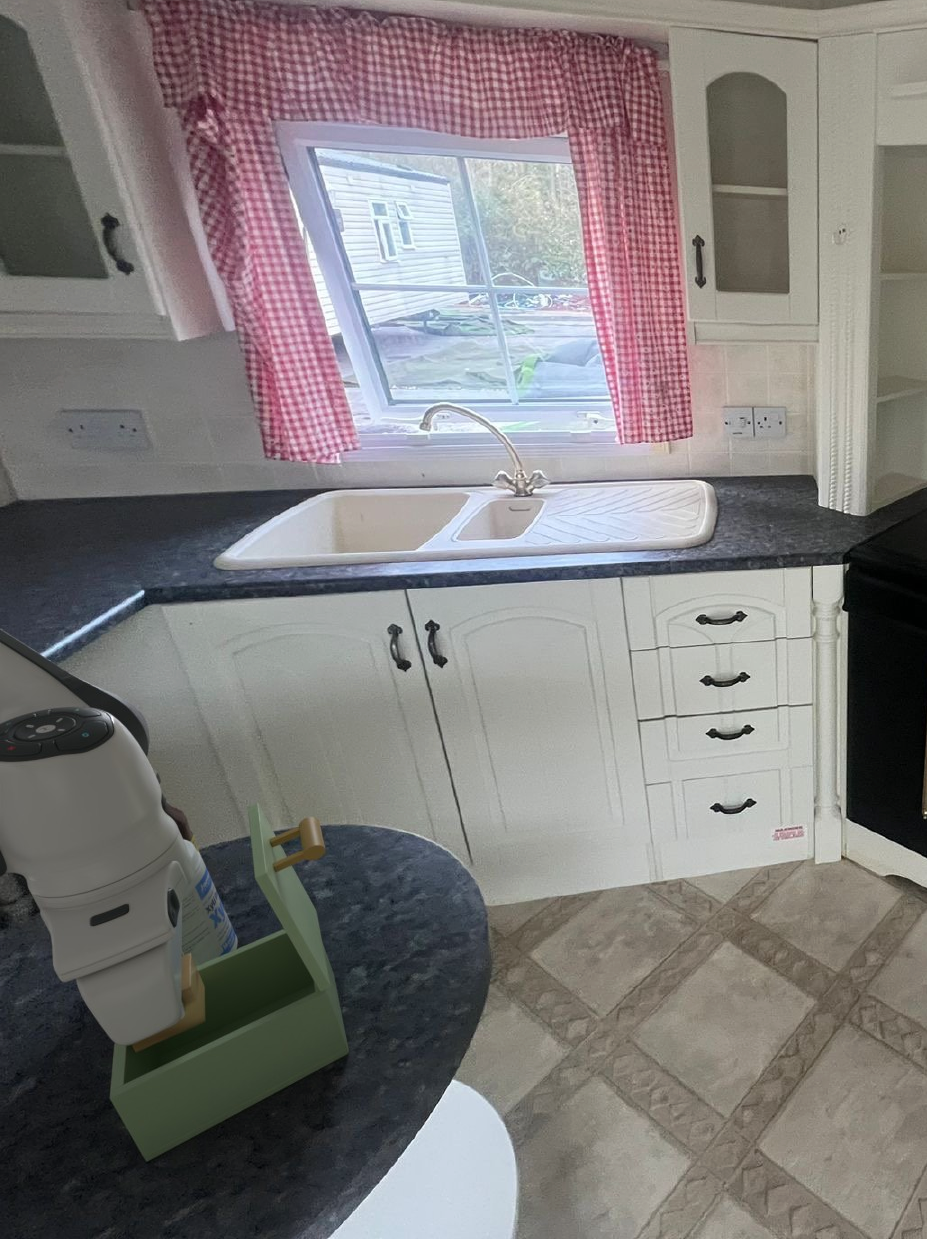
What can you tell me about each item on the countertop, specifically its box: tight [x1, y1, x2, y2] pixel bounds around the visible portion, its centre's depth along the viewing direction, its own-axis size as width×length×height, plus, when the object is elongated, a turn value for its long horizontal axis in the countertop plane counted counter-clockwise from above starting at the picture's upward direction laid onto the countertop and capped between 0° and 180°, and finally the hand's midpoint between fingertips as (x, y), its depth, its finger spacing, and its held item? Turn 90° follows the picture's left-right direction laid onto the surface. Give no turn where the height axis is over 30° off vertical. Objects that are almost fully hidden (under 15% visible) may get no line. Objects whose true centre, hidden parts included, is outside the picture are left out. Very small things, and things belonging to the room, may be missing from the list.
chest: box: [109, 928, 350, 1162], centre depth 72 cm, size 15×12×9 cm
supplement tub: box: [182, 840, 239, 967], centre depth 79 cm, size 10×10×15 cm
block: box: [132, 953, 205, 1053], centre depth 68 cm, size 5×5×5 cm
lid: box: [247, 802, 330, 992], centre depth 73 cm, size 15×12×5 cm
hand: (174, 994), depth 68 cm, fingers closed on block, 4 cm apart
